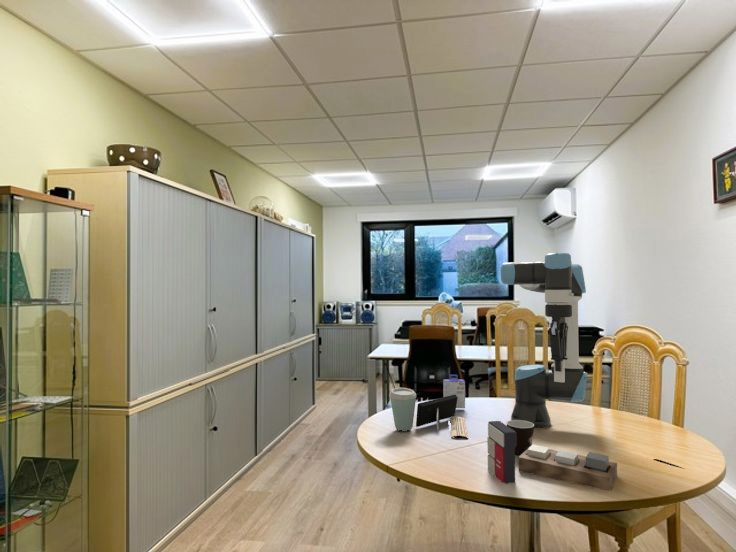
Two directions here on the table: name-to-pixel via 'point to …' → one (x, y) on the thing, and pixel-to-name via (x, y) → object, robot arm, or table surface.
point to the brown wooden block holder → (568, 471)
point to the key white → (538, 451)
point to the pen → (666, 463)
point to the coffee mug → (522, 434)
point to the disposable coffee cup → (403, 407)
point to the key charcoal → (597, 461)
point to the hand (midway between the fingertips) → (559, 381)
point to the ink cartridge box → (455, 389)
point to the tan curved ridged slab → (458, 427)
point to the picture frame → (436, 410)
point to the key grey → (566, 458)
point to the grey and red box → (501, 451)
